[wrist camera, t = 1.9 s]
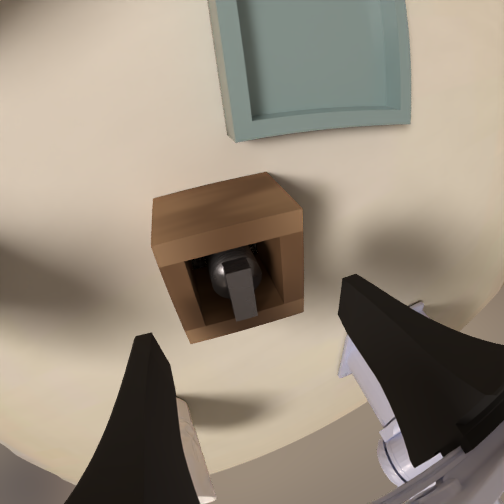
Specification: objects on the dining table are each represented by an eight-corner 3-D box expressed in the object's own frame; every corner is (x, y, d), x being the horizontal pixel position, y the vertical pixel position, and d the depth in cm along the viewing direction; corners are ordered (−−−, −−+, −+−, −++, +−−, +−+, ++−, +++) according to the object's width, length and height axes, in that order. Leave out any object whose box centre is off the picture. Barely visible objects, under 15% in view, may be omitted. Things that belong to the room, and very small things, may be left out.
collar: (266, 171, 15) (302, 208, 11) (274, 261, 18) (303, 311, 15) (153, 198, 14) (151, 246, 10) (181, 286, 17) (190, 343, 14)
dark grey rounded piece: (237, 210, 15) (265, 263, 12) (243, 253, 17) (270, 311, 13) (195, 220, 15) (210, 278, 11) (206, 263, 17) (223, 325, 13)
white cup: (164, 429, 27) (179, 509, 19) (101, 411, 23) (108, 504, 15) (210, 402, 26) (236, 495, 18) (142, 379, 21) (157, 494, 13)
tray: (377, -31, 9) (398, -36, 7) (389, 117, 14) (410, 124, 13) (200, -47, 7) (206, -62, 6) (227, 134, 13) (235, 142, 12)
